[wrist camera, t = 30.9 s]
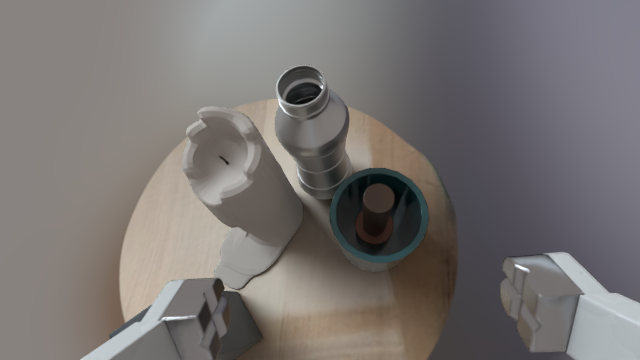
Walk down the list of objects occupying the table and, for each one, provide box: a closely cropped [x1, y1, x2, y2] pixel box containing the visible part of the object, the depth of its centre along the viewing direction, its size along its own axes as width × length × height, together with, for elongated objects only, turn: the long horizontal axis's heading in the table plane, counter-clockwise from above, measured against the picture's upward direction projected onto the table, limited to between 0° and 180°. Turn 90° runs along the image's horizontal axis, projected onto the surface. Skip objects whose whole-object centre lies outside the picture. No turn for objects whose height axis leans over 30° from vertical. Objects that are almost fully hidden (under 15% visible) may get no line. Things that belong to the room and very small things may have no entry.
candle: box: [182, 107, 303, 289], centre depth 32 cm, size 7×14×20 cm, turn 146°
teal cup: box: [330, 168, 429, 272], centre depth 35 cm, size 9×9×10 cm
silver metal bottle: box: [275, 65, 352, 199], centre depth 33 cm, size 6×7×20 cm
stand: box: [109, 291, 263, 360], centre depth 31 cm, size 6×6×14 cm
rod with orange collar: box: [355, 184, 395, 249], centre depth 32 cm, size 4×4×14 cm
